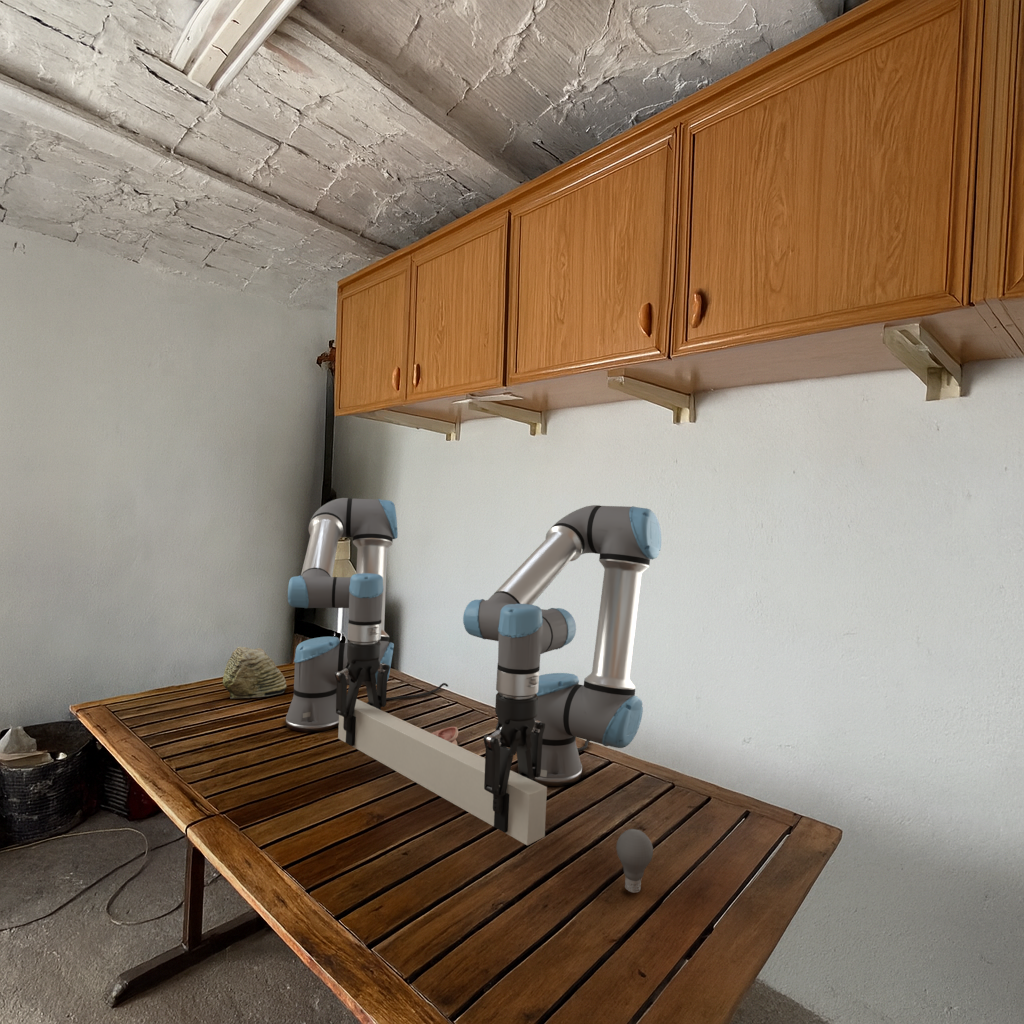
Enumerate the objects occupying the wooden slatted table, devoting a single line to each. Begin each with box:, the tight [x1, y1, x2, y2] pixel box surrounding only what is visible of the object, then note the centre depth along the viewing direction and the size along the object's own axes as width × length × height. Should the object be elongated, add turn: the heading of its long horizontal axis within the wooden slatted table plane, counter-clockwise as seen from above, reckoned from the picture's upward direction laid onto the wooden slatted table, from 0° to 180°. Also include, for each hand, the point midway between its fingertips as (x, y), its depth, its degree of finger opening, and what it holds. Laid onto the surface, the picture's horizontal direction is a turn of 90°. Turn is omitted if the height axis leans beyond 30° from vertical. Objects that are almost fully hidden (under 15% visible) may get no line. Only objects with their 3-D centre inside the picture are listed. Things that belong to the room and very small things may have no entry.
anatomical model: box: [430, 726, 459, 746], centre depth 163 cm, size 13×4×12 cm
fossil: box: [222, 646, 288, 699], centre depth 198 cm, size 9×18×15 cm, turn 132°
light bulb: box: [615, 828, 654, 894], centre depth 106 cm, size 6×6×10 cm
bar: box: [337, 698, 548, 846], centre depth 129 cm, size 61×4×9 cm, turn 45°
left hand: (360, 741), depth 147 cm, fingers closed on bar, 4 cm apart
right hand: (511, 823), depth 112 cm, fingers closed on bar, 4 cm apart
